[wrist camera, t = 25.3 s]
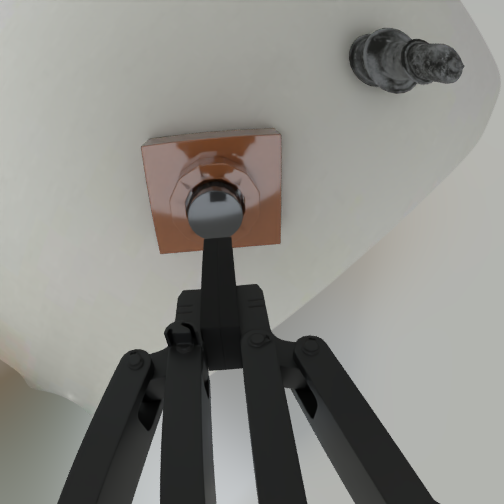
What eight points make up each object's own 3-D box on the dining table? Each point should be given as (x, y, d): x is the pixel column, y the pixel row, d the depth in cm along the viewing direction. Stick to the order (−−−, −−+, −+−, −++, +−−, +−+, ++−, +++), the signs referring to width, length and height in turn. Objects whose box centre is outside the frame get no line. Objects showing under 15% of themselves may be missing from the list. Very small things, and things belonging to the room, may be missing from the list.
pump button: (239, 179, 23) (241, 188, 21) (242, 225, 25) (244, 238, 23) (186, 183, 22) (184, 193, 21) (192, 230, 25) (191, 243, 23)
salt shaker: (402, 90, 24) (491, 114, 14) (348, 89, 24) (429, 108, 14) (398, 34, 21) (489, 32, 11) (342, 29, 20) (423, 11, 10)
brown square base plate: (274, 128, 25) (287, 139, 21) (274, 228, 31) (285, 256, 26) (148, 138, 24) (134, 152, 20) (164, 238, 30) (157, 267, 26)
